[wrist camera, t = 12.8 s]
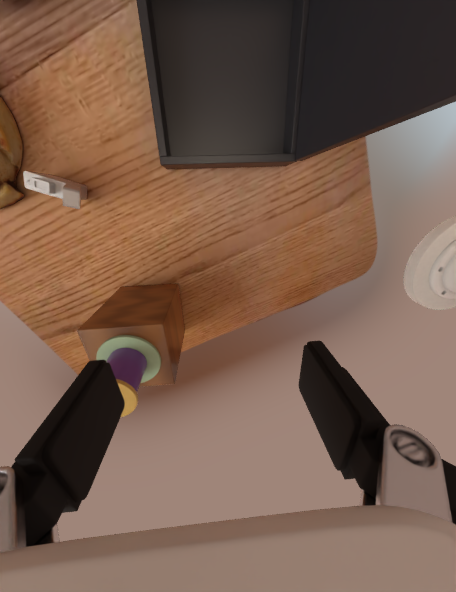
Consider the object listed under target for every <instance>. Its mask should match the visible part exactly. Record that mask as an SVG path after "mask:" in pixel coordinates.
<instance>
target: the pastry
mask: <svg viewBox="0 0 456 592" xmlns="http://www.w3.org/2000/svg"><path fill="white" fill-rule="evenodd" d="M22 152H23V148H22V141H21V137H20V133H19V130H18V127H17V125H16V122H15V120H14V118H13V116H12V114H11V112H10V111H9V109H8V107H7V106H6V104H5V103H4V101H3V100H2V98H1V96H0V209H2V208H3V207H5V206H7V205H12V204H14V203H15V202H17V201H19V200H21V199H22V198H23V197H24V195H23V194H22V193H21V192H19V191H18V190H17V188H16V184H15V178H16V175H17V173H18V171H19V169H20V167H21V160H22Z"/></svg>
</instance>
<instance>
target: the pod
mask: <svg viewBox="0 0 456 592" xmlns="http://www.w3.org/2000/svg"><path fill="white" fill-rule="evenodd" d="M106 362H108V363H110V365H111V368H112V370H113V373H114V375H115V378H116V381H117V383H118V386H119V388H120V391H121V393H122V396H123V398H124V401H125V406H124V410H123V412H122V415H121V417H123V416H126V415H128V414H130V413H131V412H132V411H133V410H134V409H135V408H136V406H137V402H138V394H137V391H138V388H139V386H140V383H141V380H142V378H143V375H144V372H145V370H146V367H147V360H146V358H145V356H144V355H143V354H142V353H141V352H139V351H137V350H135V349H132V348H119V349H116V350H115V351H113V352H112V353H111V354H110V355H109V357H108V359H107V360H106Z"/></svg>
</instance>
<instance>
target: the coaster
mask: <svg viewBox="0 0 456 592" xmlns="http://www.w3.org/2000/svg"><path fill="white" fill-rule="evenodd" d="M119 348H132V349H135V350H137V351H139V352H141V353H142V354H143V355H144V356H145V358H146V360H147V367H146V370H145V372H144V375H143V378H142V380H141V383H143V382H146V381H148V380H150V379H152V378H153V377H154V376H155V375H156V374H157V373H158V371H159V369H160V366H161V357H160V354H159V352H158V350H157V349H156V348H155V346H154V345H152V344H151V343H150V342H148V341H147V340H145V339H143V338H140V337H137V336H132V335H120V336H115V337H112V338H110V339H108V340H106V341H105V342H104V343H103V344H102V345H101V346H100V348H99V349H98V351H97V356H96V360H105V361H106V360H107V359H108V357H109V355H110V354H111V353H112V352H113V351H115V350H116V349H119Z"/></svg>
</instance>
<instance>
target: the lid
mask: <svg viewBox="0 0 456 592" xmlns="http://www.w3.org/2000/svg"><path fill="white" fill-rule="evenodd" d="M455 101H456V0H310V7H309V18H308V29H307V40H306V51H305V61H304V72H303V83H302V94H301V105H300V116H299V127H298V138H297V149H296V161H302V160H305V159H307V158H310V157H312V156H315V155H318V154H320V153H323V152H325V151H328V150H331V149H333V148H336V147H338V146H341V145H344V144H346V143H349V142H351V141H354V140H357V139H359V138H362V137H364V136H367V135H369V134H372V133H375V132H377V131H380V130H382V129H385V128H388V127H390V126H393V125H395V124H398V123H401V122H403V121H406V120H408V119H411V118H413V117H416V116H419V115H421V114H424V113H426V112H429V111H432V110H434V109H437V108H440V107H442V106H445V105H447V104H450V103H452V102H455Z"/></svg>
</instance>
